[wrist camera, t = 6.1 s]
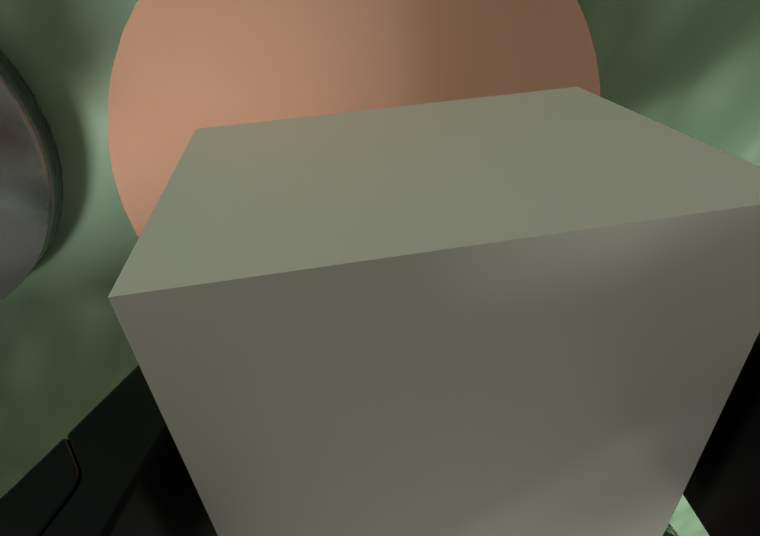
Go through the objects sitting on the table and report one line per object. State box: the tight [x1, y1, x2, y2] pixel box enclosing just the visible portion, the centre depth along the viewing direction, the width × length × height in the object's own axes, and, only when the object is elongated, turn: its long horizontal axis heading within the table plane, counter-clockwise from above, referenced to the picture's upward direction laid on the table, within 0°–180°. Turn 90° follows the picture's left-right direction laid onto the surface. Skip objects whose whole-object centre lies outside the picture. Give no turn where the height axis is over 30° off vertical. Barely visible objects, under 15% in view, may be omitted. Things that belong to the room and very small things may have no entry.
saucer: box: [107, 0, 601, 238], centre depth 14 cm, size 13×13×1 cm
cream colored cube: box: [108, 87, 760, 536], centre depth 7 cm, size 6×6×4 cm
